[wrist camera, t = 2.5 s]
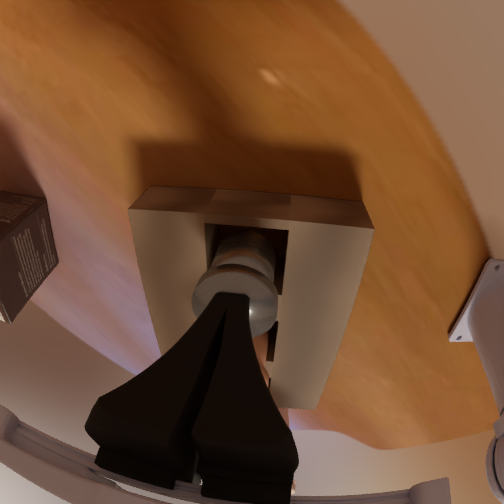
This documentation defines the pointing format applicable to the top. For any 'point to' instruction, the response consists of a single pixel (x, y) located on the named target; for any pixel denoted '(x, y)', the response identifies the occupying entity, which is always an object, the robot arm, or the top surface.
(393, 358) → the top surface
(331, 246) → the socket board
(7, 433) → the robot arm
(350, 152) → the top surface
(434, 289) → the top surface
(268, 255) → the plug metal
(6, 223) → the box
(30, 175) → the top surface
